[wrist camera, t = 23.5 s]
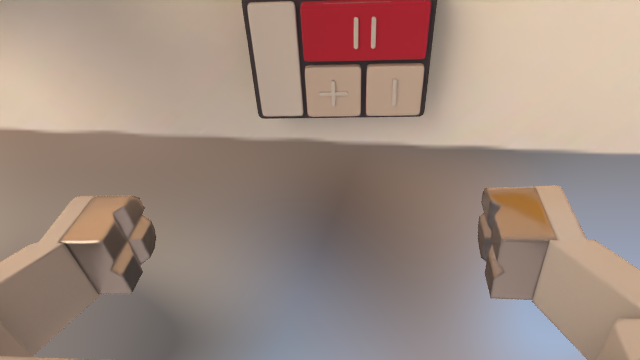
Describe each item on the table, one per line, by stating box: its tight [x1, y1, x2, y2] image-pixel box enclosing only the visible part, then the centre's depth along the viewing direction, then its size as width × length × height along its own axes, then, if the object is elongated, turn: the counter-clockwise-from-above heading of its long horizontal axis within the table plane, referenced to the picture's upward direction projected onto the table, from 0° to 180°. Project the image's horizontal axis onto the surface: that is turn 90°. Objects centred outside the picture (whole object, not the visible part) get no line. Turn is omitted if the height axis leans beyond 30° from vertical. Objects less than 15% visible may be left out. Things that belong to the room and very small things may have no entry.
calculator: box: [242, 0, 437, 118], centre depth 39 cm, size 11×4×15 cm
